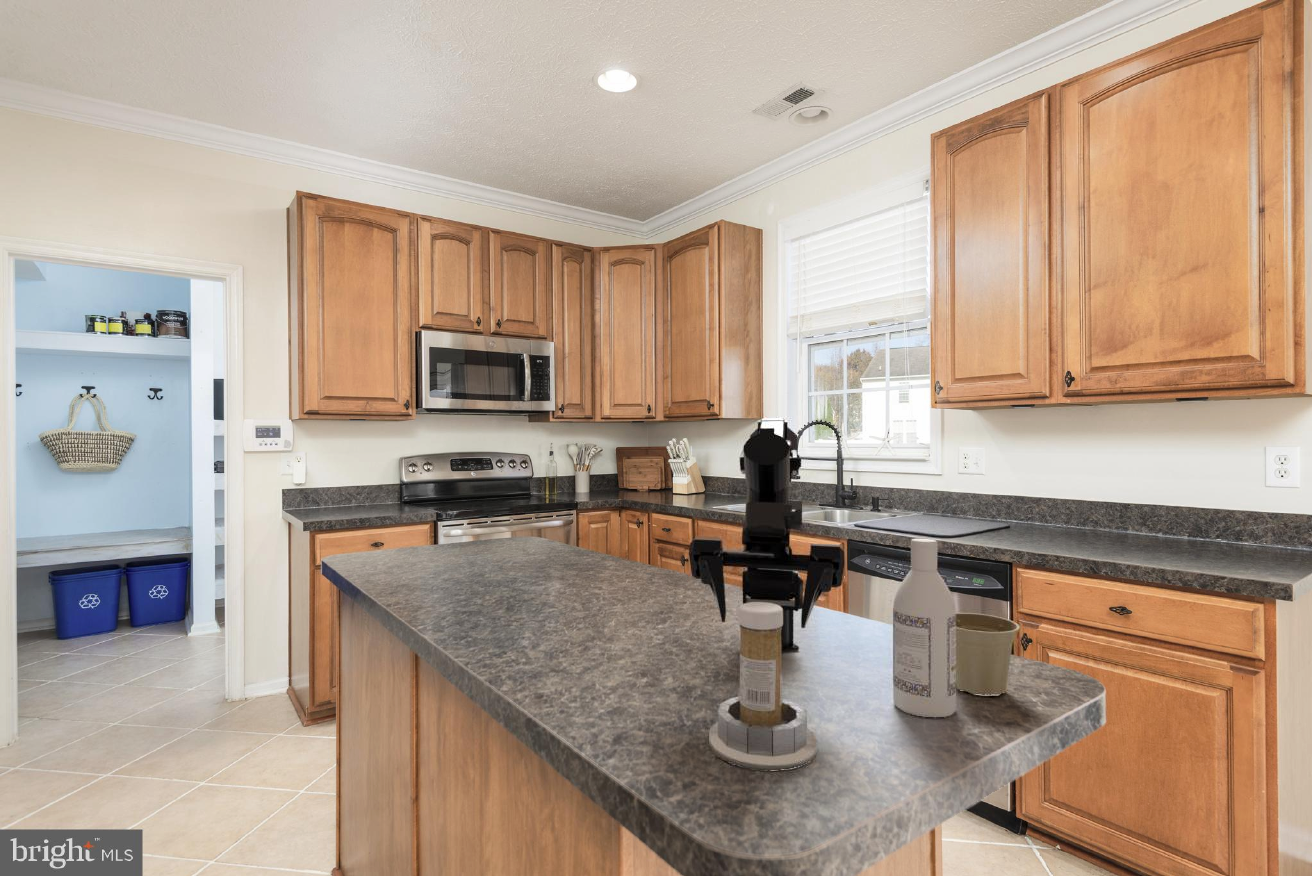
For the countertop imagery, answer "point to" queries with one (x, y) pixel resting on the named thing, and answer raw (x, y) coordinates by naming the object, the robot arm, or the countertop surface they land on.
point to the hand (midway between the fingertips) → (762, 623)
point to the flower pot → (983, 652)
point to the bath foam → (924, 638)
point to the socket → (763, 738)
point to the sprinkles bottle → (760, 663)
